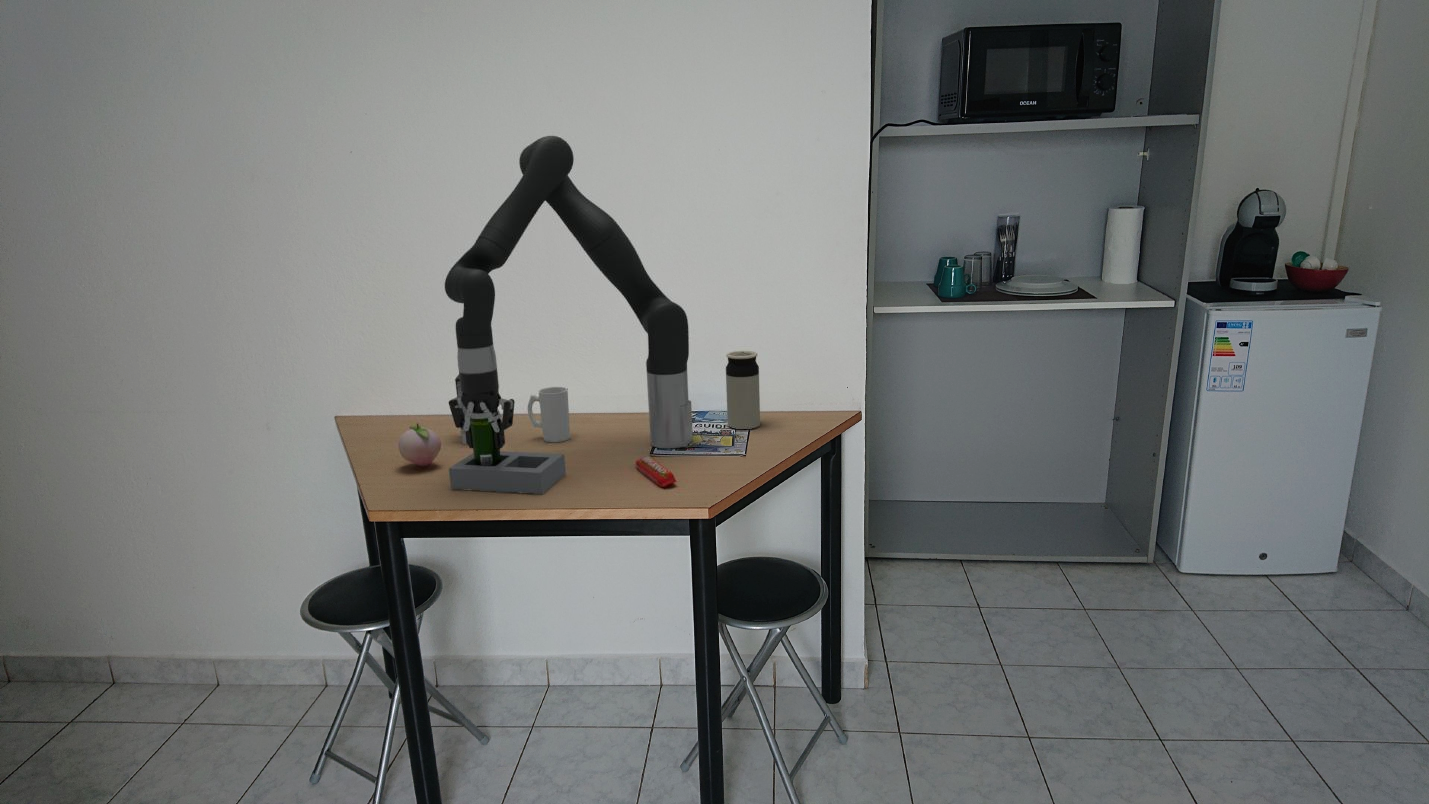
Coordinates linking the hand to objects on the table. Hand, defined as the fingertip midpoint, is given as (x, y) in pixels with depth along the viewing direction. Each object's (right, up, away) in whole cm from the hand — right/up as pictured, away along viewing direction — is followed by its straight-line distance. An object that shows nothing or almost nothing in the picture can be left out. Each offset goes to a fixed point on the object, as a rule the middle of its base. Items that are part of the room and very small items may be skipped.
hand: (486, 447), depth 185 cm
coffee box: (-10, 0, +32) cm, 34 cm away
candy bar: (+35, -7, 0) cm, 36 cm away
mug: (+8, 0, +30) cm, 31 cm away
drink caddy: (+5, -7, +1) cm, 9 cm away
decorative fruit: (-17, -5, +12) cm, 22 cm away
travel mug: (+54, +3, +34) cm, 64 cm away
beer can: (0, -4, +1) cm, 4 cm away
